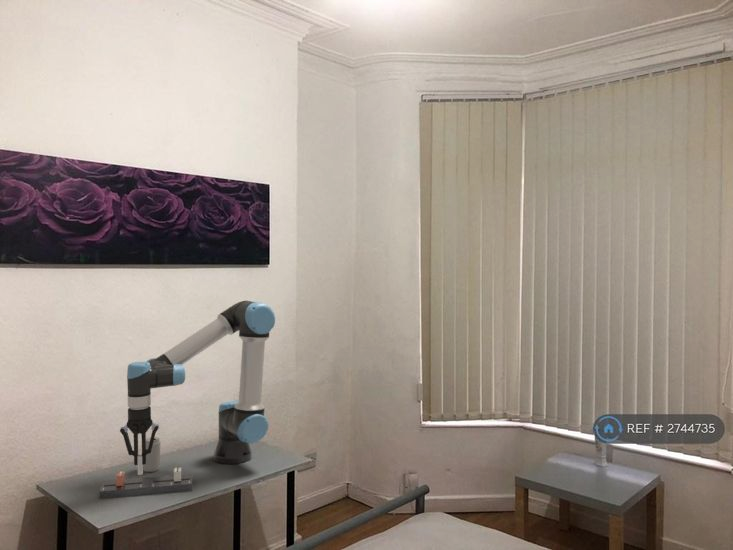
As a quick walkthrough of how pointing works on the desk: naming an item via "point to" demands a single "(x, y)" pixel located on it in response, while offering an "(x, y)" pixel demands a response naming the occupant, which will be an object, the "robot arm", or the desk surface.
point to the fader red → (120, 478)
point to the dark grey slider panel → (145, 486)
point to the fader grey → (177, 474)
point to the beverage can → (152, 456)
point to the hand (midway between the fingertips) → (140, 473)
